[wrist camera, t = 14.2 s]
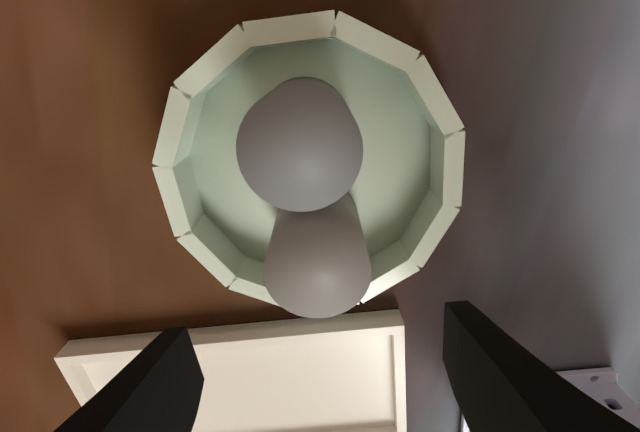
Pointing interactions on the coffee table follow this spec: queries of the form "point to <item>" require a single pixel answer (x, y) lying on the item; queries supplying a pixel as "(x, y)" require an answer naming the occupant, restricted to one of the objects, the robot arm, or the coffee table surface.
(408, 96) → the celadon bowl
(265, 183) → the pebble
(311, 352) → the parts tray
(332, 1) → the coffee table surface
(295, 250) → the pebble
